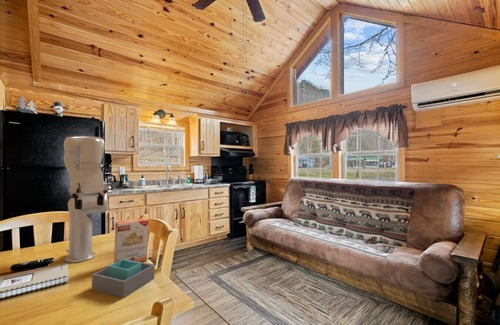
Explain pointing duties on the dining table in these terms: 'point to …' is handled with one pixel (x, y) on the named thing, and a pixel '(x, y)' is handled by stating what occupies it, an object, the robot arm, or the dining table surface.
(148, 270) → the charcoal crate
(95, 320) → the dining table surface
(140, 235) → the cracker box
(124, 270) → the teal crate
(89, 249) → the robot arm
